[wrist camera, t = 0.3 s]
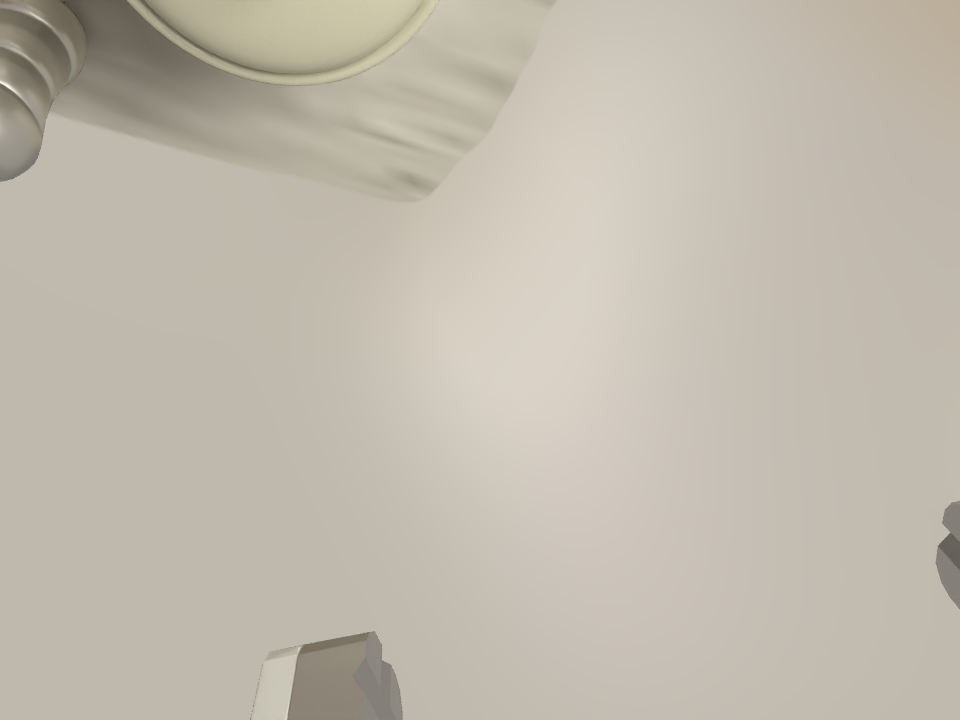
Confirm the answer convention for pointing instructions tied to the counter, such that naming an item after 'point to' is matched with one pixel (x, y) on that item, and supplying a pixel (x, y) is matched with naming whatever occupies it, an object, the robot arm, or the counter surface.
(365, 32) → the canister
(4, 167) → the silver metal bottle
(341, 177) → the counter surface
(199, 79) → the counter surface
